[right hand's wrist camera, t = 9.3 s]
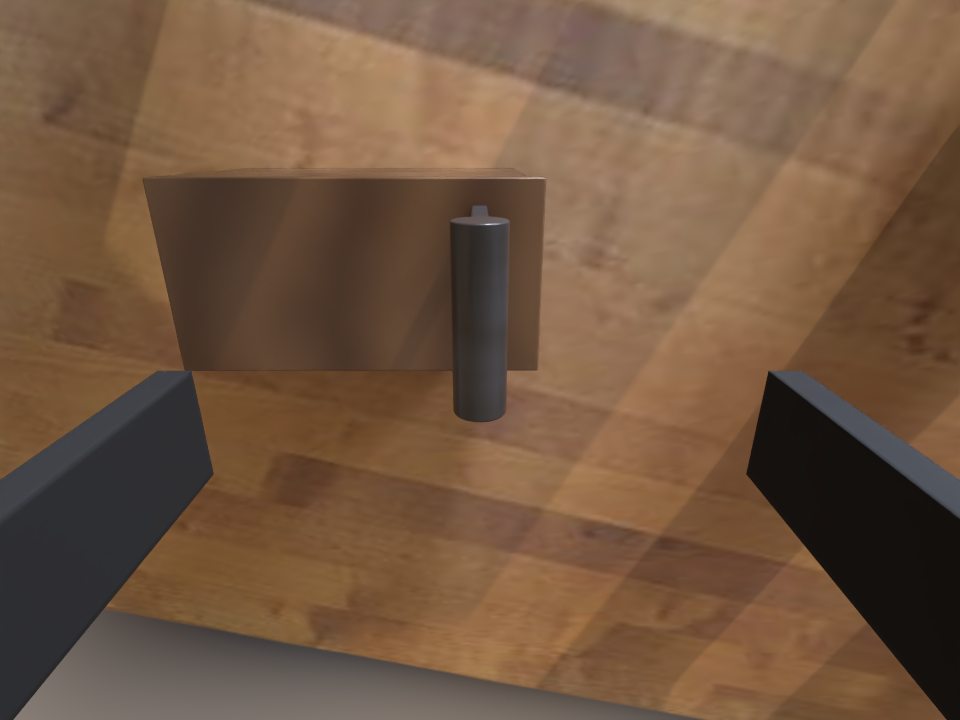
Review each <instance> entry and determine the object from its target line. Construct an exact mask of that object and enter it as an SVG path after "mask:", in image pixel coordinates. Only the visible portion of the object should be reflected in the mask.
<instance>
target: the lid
mask: <svg viewBox="0 0 960 720" xmlns="http://www.w3.org/2000/svg"><path fill="white" fill-rule="evenodd" d="M143 183H144V188H145V192H146V197H147V201H148V206H149V210H150V215H151V219H152V224H153V228H154V233H155V238H156V242H157V247H158V251H159V256H160V260H161V265H162V269H163V274H164V278H165V283H166V287H167V292H168V296H169V301H170V305H171V310H172V314H173V319H174V324H175V328H176V333H177V337H178V342H179V346H180V351H181V355H182V360H183V364H184V369H185V370H186V371H298V370H453V406H454V413H455V414H456V415H457V416H458V417H459V418H461V419H463V420H467V421H471V422H488V421H493V420H496V419H498V418H500V417H502V416H503V415H504V414H505V412H506V387H507V370H538V354H539V331H540V308H541V285H542V262H543V239H544V215H545V192H546V178H544V177H145V178H143Z"/></svg>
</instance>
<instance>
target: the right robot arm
mask: <svg viewBox="0 0 960 720" xmlns="http://www.w3.org/2000/svg"><path fill="white" fill-rule="evenodd" d="M212 476H213V469H212V464H211V460H210V455H209V450H208V446H207V441H206V437H205V432H204V427H203V423H202V418H201V413H200V409H199V404H198V399H197V395H196V390H195V386H194V381H193V376H192V372H191V371H157V372H155V373H154V374H153V375H151V376H150V377H148V378H147V379H145V380H144V381H142V382H141V383H140V384H138V385H137V386H135V387H134V388H132V389H131V390H129V391H128V392H127V393H125V394H124V395H122V396H121V397H119V398H118V399H116V400H115V401H114V402H112V403H111V404H109V405H108V406H106V407H105V408H103V409H102V410H101V411H99V412H98V413H96V414H95V415H93V416H92V417H90V418H89V419H88V420H86V421H85V422H83V423H82V424H80V425H79V426H77V427H76V428H75V429H73V430H72V431H70V432H69V433H67V434H66V435H65V436H63V437H62V438H60V439H59V440H57V441H56V442H54V443H53V444H52V445H50V446H49V447H47V448H46V449H44V450H43V451H41V452H40V453H39V454H37V455H36V456H34V457H33V458H31V459H30V460H28V461H27V462H26V463H24V464H23V465H21V466H20V467H18V468H17V469H15V470H14V471H13V472H11V473H10V474H8V475H7V476H5V477H4V478H2V479H1V480H0V720H13V719H14V718H15V717H16V716H17V714H18V713H19V712H20V711H21V710H22V708H23V707H24V706H25V705H26V703H27V702H28V701H29V700H30V699H31V697H32V696H33V695H34V694H35V692H36V691H37V690H38V689H39V687H40V686H41V685H42V684H43V683H44V681H45V680H46V679H47V678H48V677H49V675H50V674H51V673H52V672H53V670H54V669H55V668H56V667H57V665H58V664H59V663H60V662H61V661H62V659H63V658H64V657H65V656H66V654H67V653H68V652H69V651H70V650H71V648H72V647H73V646H74V645H75V643H76V642H77V641H78V640H79V638H80V637H81V636H82V635H83V634H84V632H85V631H86V630H87V629H88V627H89V626H90V625H91V624H92V622H93V621H94V620H95V619H96V618H97V616H98V615H99V614H100V613H101V612H102V610H103V609H104V608H105V607H106V605H107V604H108V603H109V602H110V601H111V599H112V598H113V597H114V596H115V594H116V593H117V592H118V591H119V589H120V588H121V587H122V586H123V585H124V583H125V582H126V581H127V580H128V578H129V577H130V576H131V575H132V574H133V572H134V571H135V570H136V569H137V567H138V566H139V565H140V564H141V563H142V561H143V560H144V559H145V558H146V556H147V555H148V554H149V553H150V552H151V550H152V549H153V548H154V547H155V545H156V544H157V543H158V542H159V540H160V539H161V538H162V537H163V536H164V534H165V533H166V532H167V531H168V529H169V528H170V527H171V526H172V525H173V523H174V522H175V521H176V520H177V518H178V517H179V516H180V515H181V514H182V512H183V511H184V510H185V509H186V507H187V506H188V505H189V504H190V502H191V501H192V500H193V499H194V498H195V496H196V495H197V494H198V493H199V491H200V490H201V489H202V488H203V487H204V485H205V484H206V483H207V482H208V480H209V479H210V478H211V477H212ZM747 476H748V477H749V478H750V479H751V480H752V482H753V483H754V484H755V485H756V487H757V488H758V489H759V490H760V491H761V493H762V494H763V495H764V496H765V498H766V499H767V500H768V501H769V502H770V504H771V505H772V506H773V507H774V509H775V510H776V511H777V512H778V514H779V515H780V516H781V517H782V518H783V520H784V521H785V522H786V523H787V525H788V526H789V527H790V528H791V529H792V531H793V532H794V533H795V534H796V536H797V537H798V538H799V539H800V540H801V542H802V543H803V544H804V545H805V547H806V548H807V549H808V550H809V552H810V553H811V554H812V555H813V556H814V558H815V559H816V560H817V561H818V563H819V564H820V565H821V566H822V567H823V569H824V570H825V571H826V572H827V574H828V575H829V576H830V577H831V578H832V580H833V581H834V582H835V583H836V585H837V586H838V587H839V588H840V589H841V591H842V592H843V593H844V594H845V596H846V597H847V598H848V599H849V601H850V602H851V603H852V604H853V605H854V607H855V608H856V609H857V610H858V612H859V613H860V614H861V615H862V616H863V618H864V619H865V620H866V621H867V623H868V624H869V625H870V626H871V627H872V629H873V630H874V631H875V632H876V634H877V635H878V636H879V637H880V639H881V640H882V641H883V642H884V643H885V645H886V646H887V647H888V648H889V650H890V651H891V652H892V653H893V654H894V656H895V657H896V658H897V659H898V661H899V662H900V663H901V664H902V665H903V667H904V668H905V669H906V670H907V672H908V673H909V674H910V675H911V677H912V678H913V679H914V680H915V681H916V683H917V684H918V685H919V686H920V688H921V689H922V690H923V691H924V692H925V694H926V695H927V696H928V697H929V699H930V700H931V701H932V702H933V703H934V705H935V706H936V707H937V708H938V710H939V711H940V712H941V713H942V714H943V716H944V717H945V718H946V719H947V720H960V480H959V479H958V478H956V477H955V476H953V475H952V474H950V473H949V472H947V471H946V470H945V469H943V468H942V467H940V466H939V465H937V464H936V463H934V462H933V461H932V460H930V459H929V458H927V457H926V456H924V455H923V454H921V453H920V452H919V451H917V450H916V449H914V448H913V447H911V446H910V445H908V444H907V443H906V442H904V441H903V440H901V439H900V438H898V437H897V436H895V435H894V434H893V433H891V432H890V431H888V430H887V429H885V428H884V427H883V426H881V425H880V424H878V423H877V422H875V421H874V420H872V419H871V418H870V417H868V416H867V415H865V414H864V413H862V412H861V411H859V410H858V409H857V408H855V407H854V406H852V405H851V404H849V403H848V402H846V401H845V400H844V399H842V398H841V397H839V396H838V395H836V394H835V393H833V392H832V391H831V390H829V389H828V388H826V387H825V386H823V385H822V384H820V383H819V382H818V381H816V380H815V379H813V378H812V377H810V376H809V375H807V374H806V373H805V372H803V371H769V372H768V376H767V381H766V386H765V390H764V395H763V399H762V404H761V409H760V413H759V418H758V423H757V427H756V432H755V437H754V441H753V446H752V450H751V455H750V460H749V464H748V469H747Z"/></svg>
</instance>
